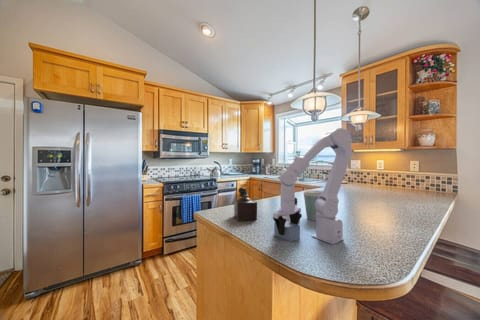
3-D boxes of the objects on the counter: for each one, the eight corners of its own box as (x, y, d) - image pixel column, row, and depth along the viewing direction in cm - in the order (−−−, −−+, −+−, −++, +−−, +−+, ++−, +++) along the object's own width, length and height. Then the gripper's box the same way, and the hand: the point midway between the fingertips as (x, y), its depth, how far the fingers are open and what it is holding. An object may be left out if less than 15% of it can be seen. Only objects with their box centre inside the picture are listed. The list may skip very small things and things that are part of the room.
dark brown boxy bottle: (232, 215, 112) (232, 183, 112) (251, 214, 115) (251, 183, 115) (239, 225, 97) (239, 188, 97) (260, 223, 100) (260, 187, 100)
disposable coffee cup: (300, 219, 106) (300, 190, 106) (306, 214, 115) (306, 188, 114) (321, 223, 100) (321, 193, 99) (326, 217, 108) (326, 190, 108)
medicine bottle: (299, 222, 101) (300, 198, 100) (285, 222, 101) (285, 198, 101) (296, 218, 108) (296, 195, 108) (282, 218, 108) (282, 195, 108)
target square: (299, 237, 82) (299, 237, 82) (288, 241, 78) (288, 241, 78) (286, 232, 88) (286, 231, 88) (275, 236, 84) (275, 235, 84)
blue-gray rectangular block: (299, 238, 81) (299, 225, 81) (290, 241, 78) (290, 228, 78) (283, 231, 88) (283, 220, 88) (274, 234, 85) (274, 222, 85)
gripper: (291, 195, 90) (291, 226, 90) (267, 200, 82) (267, 233, 82) (304, 198, 84) (304, 230, 85) (280, 203, 76) (280, 239, 76)
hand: (287, 232), depth 83 cm, fingers open, 7 cm apart
